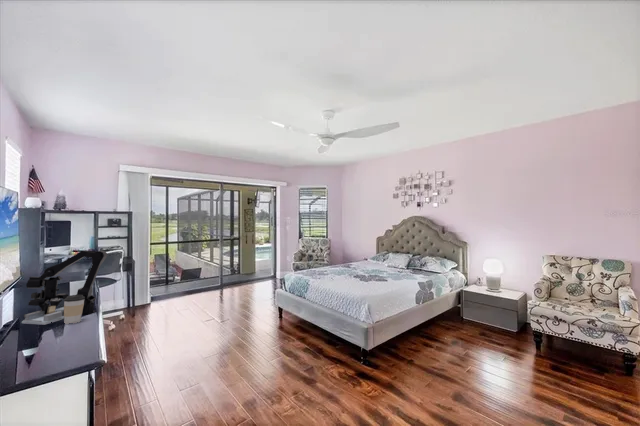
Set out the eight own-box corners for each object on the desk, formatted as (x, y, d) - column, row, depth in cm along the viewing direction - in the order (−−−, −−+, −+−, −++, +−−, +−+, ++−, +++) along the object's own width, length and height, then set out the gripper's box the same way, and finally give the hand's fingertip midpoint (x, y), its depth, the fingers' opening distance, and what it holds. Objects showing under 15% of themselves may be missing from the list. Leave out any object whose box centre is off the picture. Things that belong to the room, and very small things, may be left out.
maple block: (54, 314, 168) (55, 305, 169) (48, 316, 165) (49, 307, 165) (47, 314, 168) (48, 305, 169) (40, 316, 165) (41, 306, 165)
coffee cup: (58, 322, 155) (61, 295, 156) (78, 318, 163) (80, 292, 164) (65, 325, 151) (68, 297, 152) (86, 321, 159) (88, 294, 160)
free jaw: (44, 316, 162) (44, 310, 162) (29, 320, 154) (29, 314, 154) (37, 315, 162) (37, 310, 162) (21, 319, 154) (22, 314, 154)
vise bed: (64, 318, 162) (65, 310, 163) (45, 324, 151) (46, 316, 152) (42, 317, 163) (43, 309, 163) (21, 323, 152) (22, 315, 152)
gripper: (53, 284, 178) (51, 309, 176) (21, 290, 159) (17, 317, 158) (70, 285, 177) (67, 309, 176) (39, 291, 158) (36, 318, 157)
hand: (48, 313), depth 167 cm, fingers closed on maple block, 4 cm apart
